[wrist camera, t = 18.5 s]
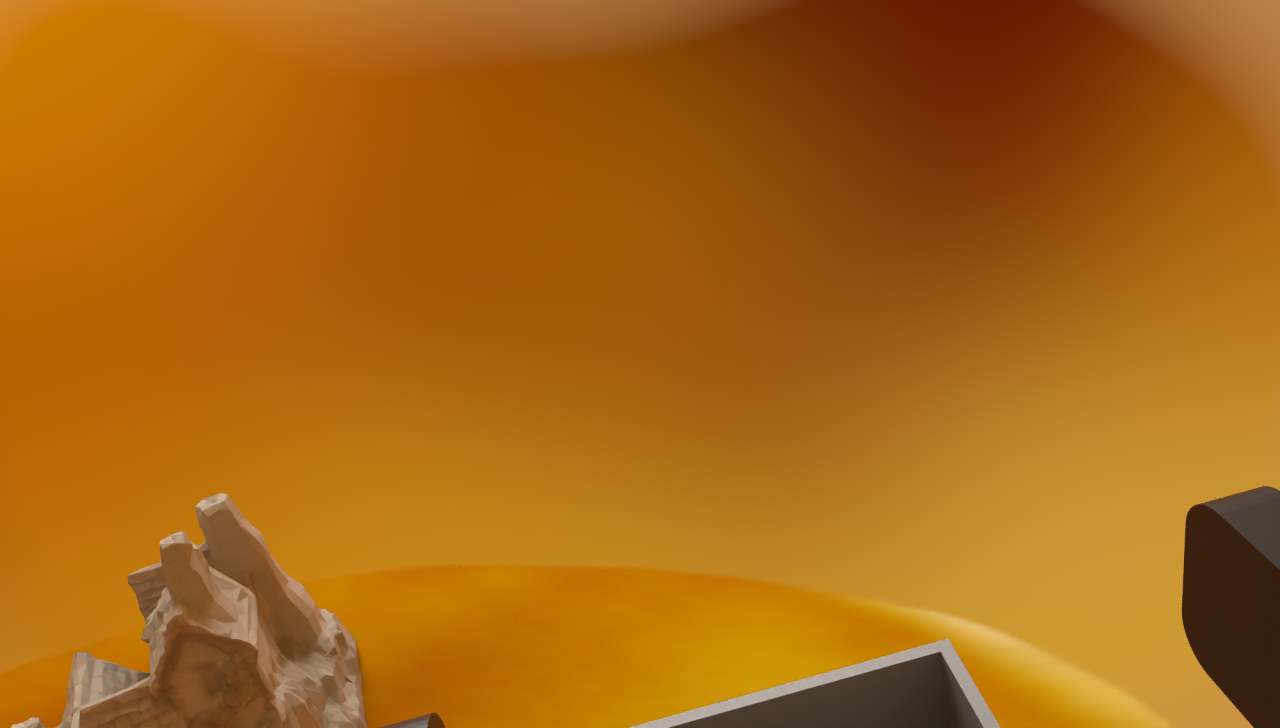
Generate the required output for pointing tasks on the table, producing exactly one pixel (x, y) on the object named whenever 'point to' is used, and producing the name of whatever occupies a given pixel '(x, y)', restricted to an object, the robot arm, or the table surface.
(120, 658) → the table surface
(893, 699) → the tub
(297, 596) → the beige rock formation
